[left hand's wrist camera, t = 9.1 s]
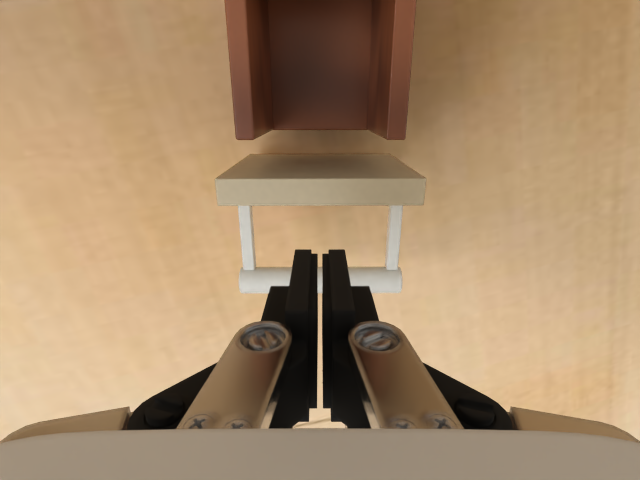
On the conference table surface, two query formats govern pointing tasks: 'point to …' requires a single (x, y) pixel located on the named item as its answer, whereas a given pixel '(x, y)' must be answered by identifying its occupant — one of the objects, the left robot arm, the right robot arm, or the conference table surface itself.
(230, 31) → the drawer
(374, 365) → the left robot arm
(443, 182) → the conference table surface
